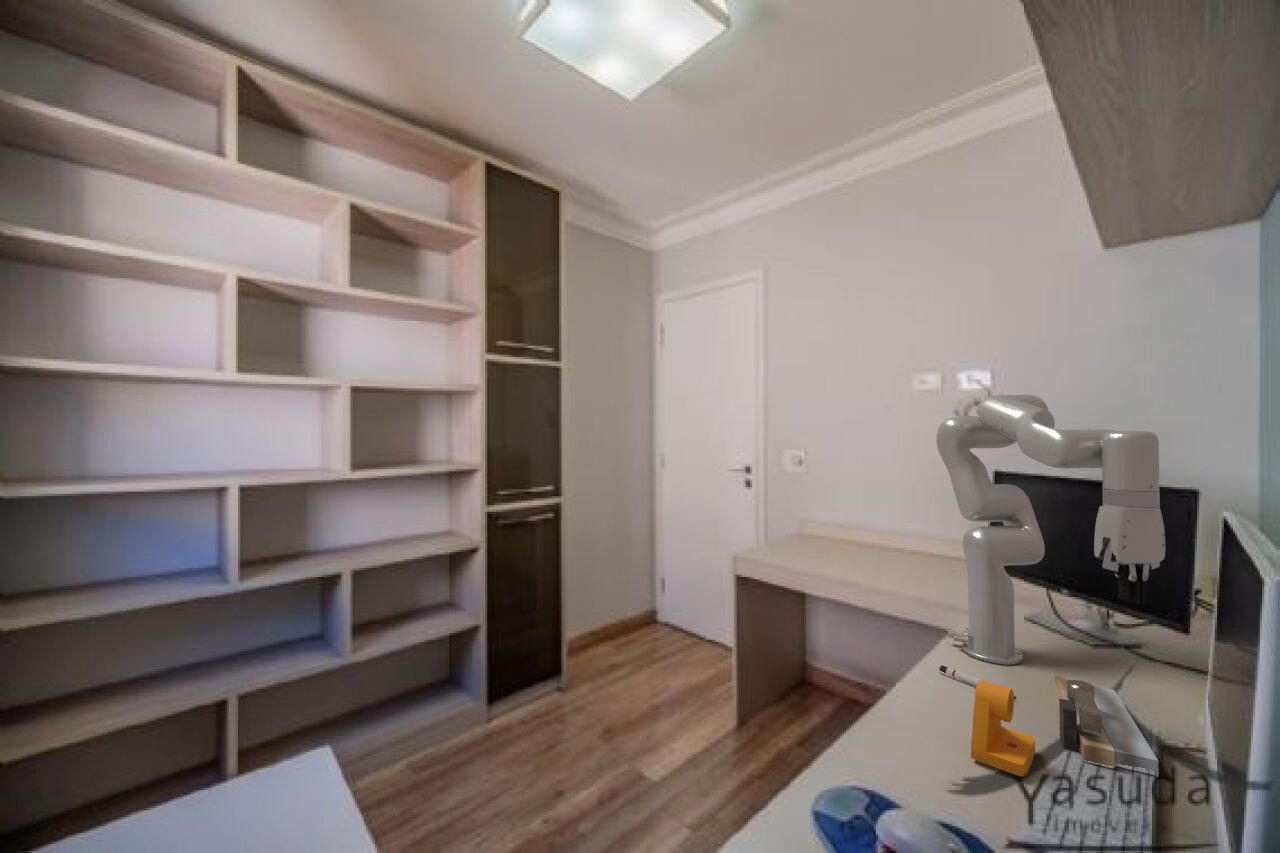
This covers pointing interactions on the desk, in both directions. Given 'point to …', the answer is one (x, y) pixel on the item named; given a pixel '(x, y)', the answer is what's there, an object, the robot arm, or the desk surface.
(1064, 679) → the doorframe
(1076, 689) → the door handle
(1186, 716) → the desk surface
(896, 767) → the desk surface
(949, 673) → the marker
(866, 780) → the desk surface
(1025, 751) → the bracket
